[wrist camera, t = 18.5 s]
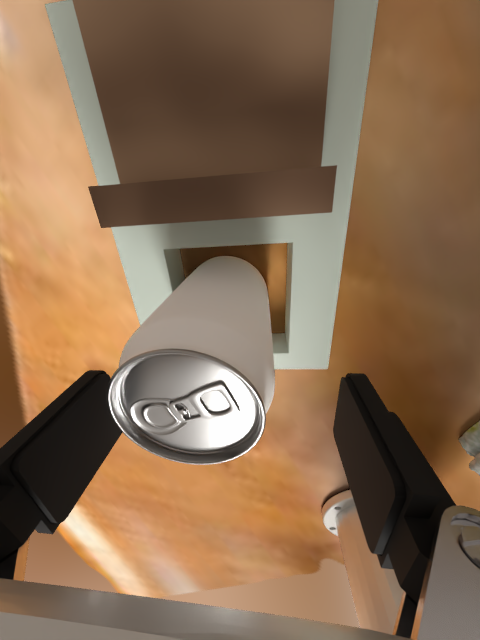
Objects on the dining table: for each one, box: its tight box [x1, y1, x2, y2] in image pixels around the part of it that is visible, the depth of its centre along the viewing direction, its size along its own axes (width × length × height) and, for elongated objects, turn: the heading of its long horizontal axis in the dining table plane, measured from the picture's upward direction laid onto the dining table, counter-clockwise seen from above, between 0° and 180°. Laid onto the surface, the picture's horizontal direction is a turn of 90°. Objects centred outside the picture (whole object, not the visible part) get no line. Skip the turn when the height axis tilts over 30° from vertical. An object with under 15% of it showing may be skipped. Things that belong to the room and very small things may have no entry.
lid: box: [72, 0, 337, 228], centre depth 9 cm, size 9×10×4 cm
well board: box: [45, 0, 378, 369], centre depth 15 cm, size 20×14×3 cm
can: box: [107, 256, 275, 465], centre depth 13 cm, size 6×6×12 cm
